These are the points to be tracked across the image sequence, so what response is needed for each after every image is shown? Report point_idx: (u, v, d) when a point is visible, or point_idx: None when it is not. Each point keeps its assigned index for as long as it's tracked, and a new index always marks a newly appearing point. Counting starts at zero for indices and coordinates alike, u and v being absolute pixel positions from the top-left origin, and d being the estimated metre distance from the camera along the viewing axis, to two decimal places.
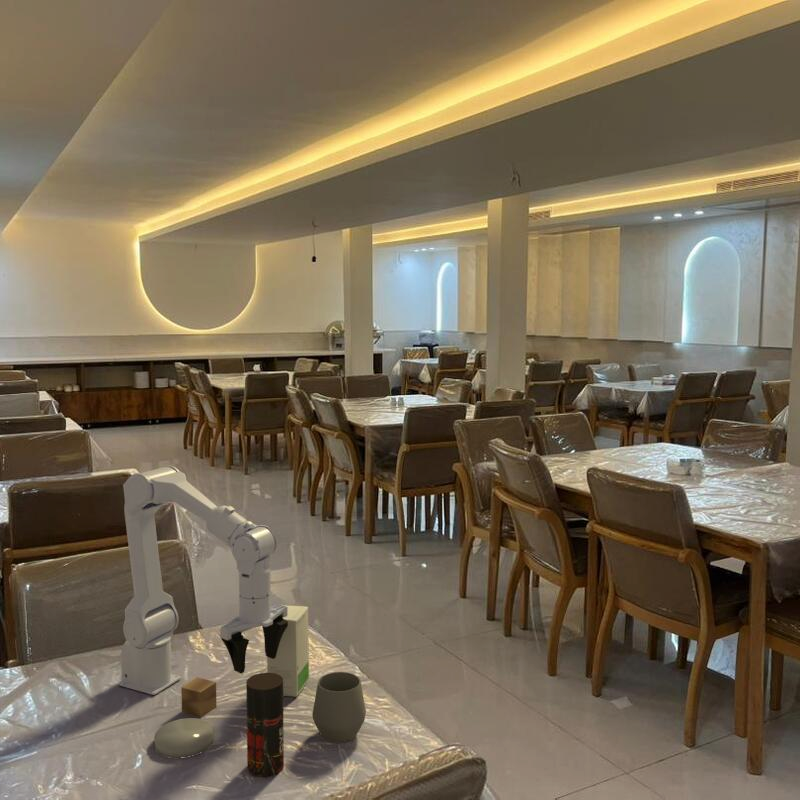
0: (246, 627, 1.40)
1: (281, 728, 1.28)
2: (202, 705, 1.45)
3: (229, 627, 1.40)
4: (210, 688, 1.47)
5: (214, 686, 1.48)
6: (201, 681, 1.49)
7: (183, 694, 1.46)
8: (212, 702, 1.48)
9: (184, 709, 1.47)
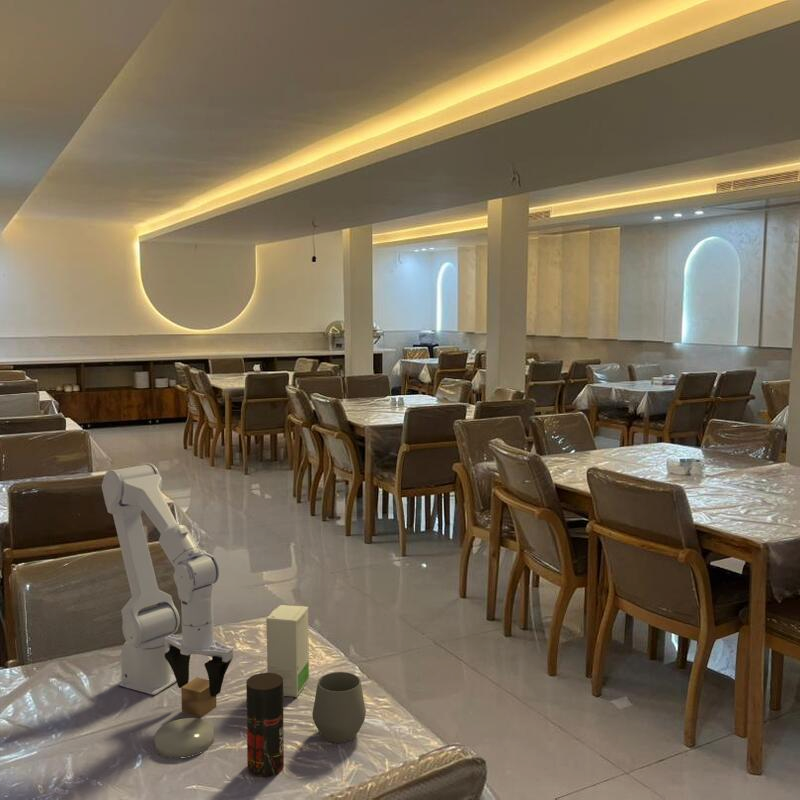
0: (175, 645, 1.46)
1: (281, 728, 1.28)
2: (202, 705, 1.45)
3: (172, 638, 1.49)
4: None
5: None
6: (201, 681, 1.49)
7: (183, 694, 1.46)
8: (212, 702, 1.48)
9: (184, 709, 1.47)
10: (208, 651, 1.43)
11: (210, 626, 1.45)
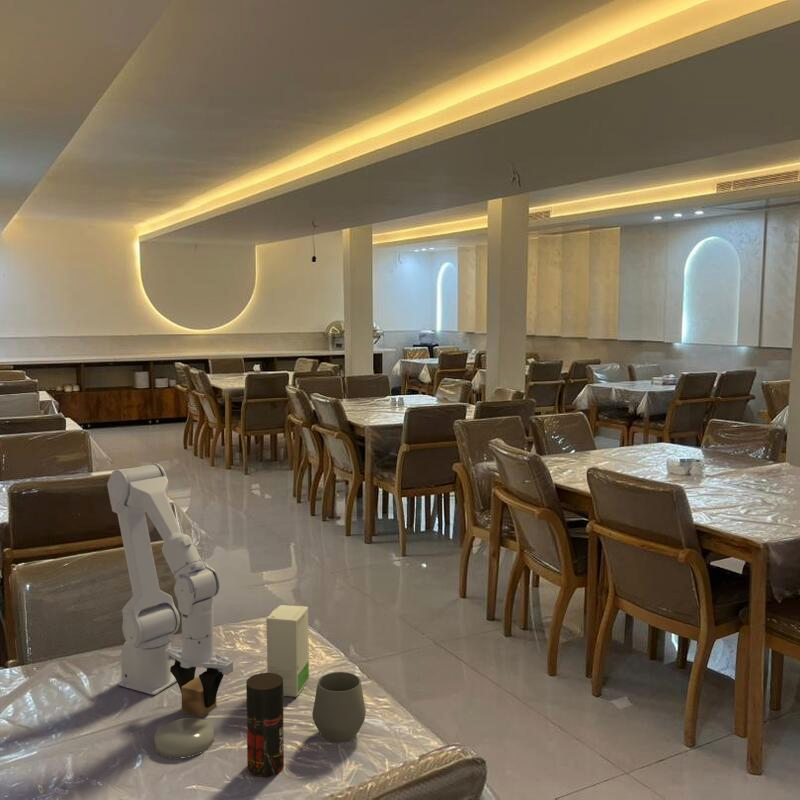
0: (176, 657, 1.47)
1: (281, 728, 1.28)
2: (202, 705, 1.45)
3: (172, 650, 1.49)
4: None
5: None
6: None
7: (183, 694, 1.46)
8: None
9: (184, 709, 1.47)
10: (208, 664, 1.44)
11: (210, 639, 1.45)
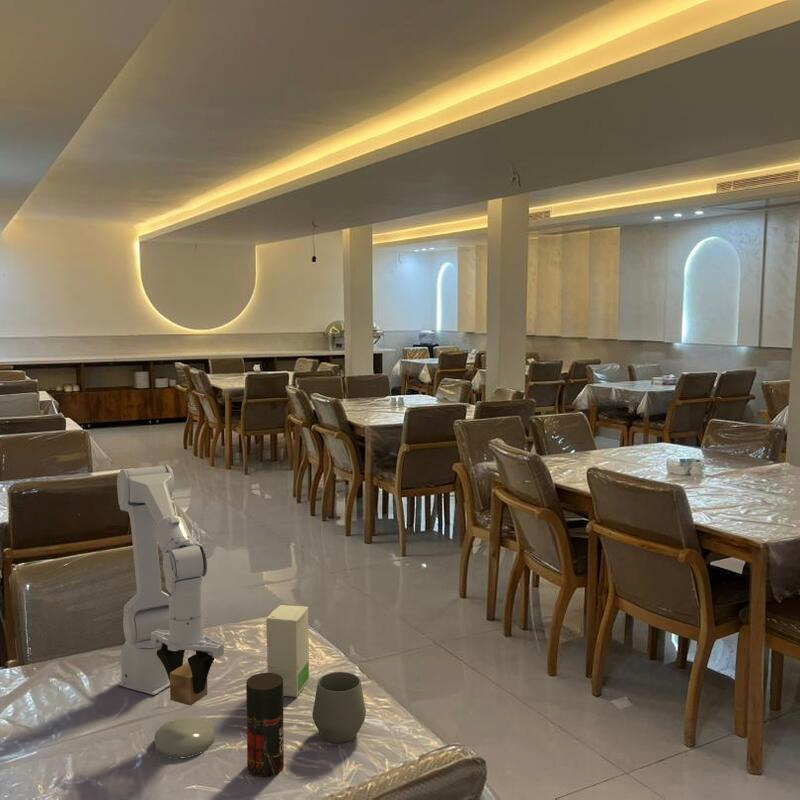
0: (162, 640, 1.37)
1: (281, 728, 1.28)
2: (192, 692, 1.36)
3: (159, 633, 1.40)
4: None
5: None
6: None
7: (172, 680, 1.37)
8: None
9: (173, 696, 1.38)
10: (197, 647, 1.34)
11: (199, 620, 1.36)
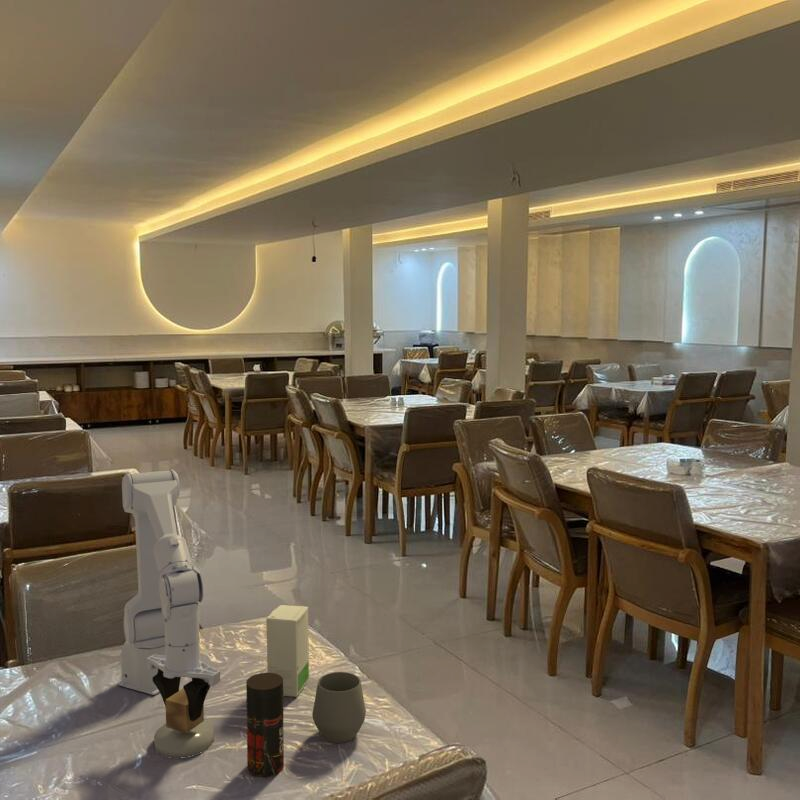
0: (158, 666, 1.35)
1: (281, 728, 1.28)
2: (188, 719, 1.34)
3: (155, 658, 1.38)
4: None
5: None
6: None
7: (167, 707, 1.35)
8: None
9: (168, 723, 1.35)
10: (193, 674, 1.32)
11: (195, 646, 1.34)
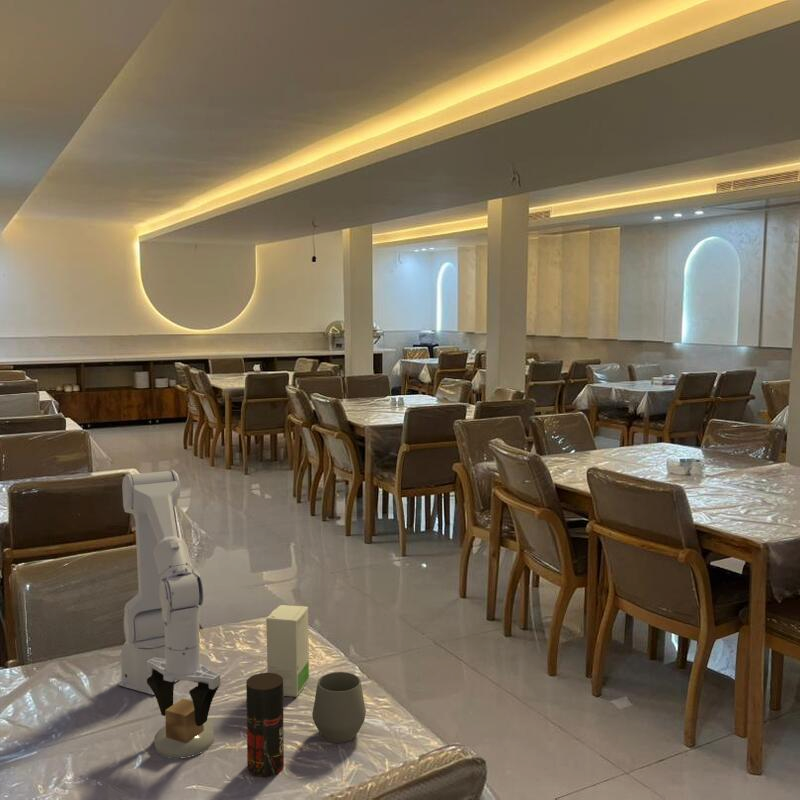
0: (158, 670, 1.35)
1: (281, 728, 1.28)
2: (188, 729, 1.34)
3: (155, 661, 1.38)
4: None
5: None
6: (187, 703, 1.38)
7: (167, 717, 1.35)
8: (199, 726, 1.37)
9: (168, 734, 1.36)
10: (193, 677, 1.32)
11: (195, 650, 1.34)
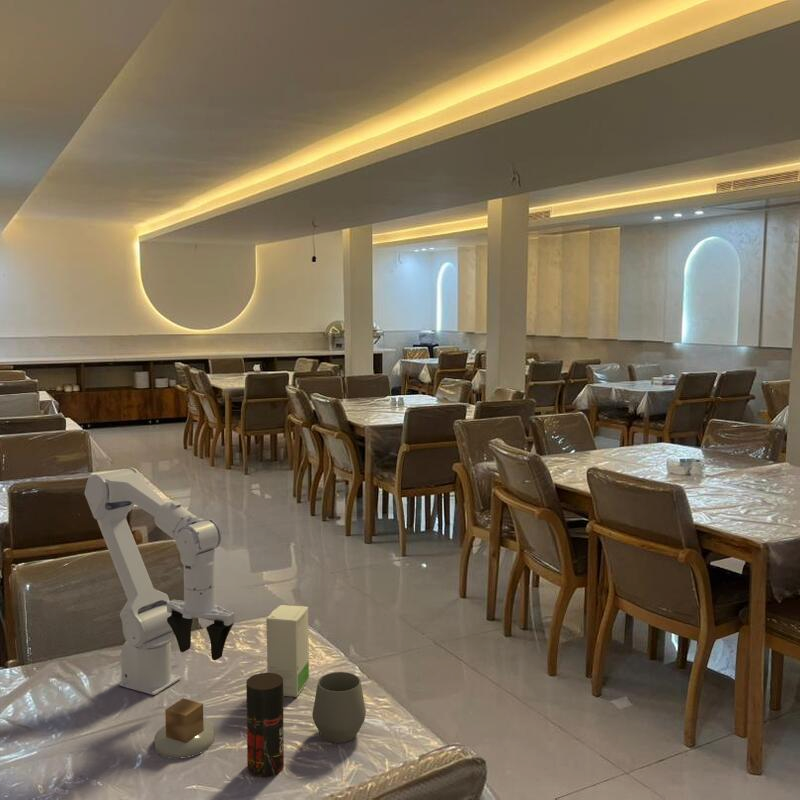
0: (178, 609, 1.48)
1: (281, 728, 1.28)
2: (188, 729, 1.34)
3: (174, 603, 1.51)
4: (197, 710, 1.36)
5: (201, 708, 1.37)
6: (187, 703, 1.38)
7: (167, 717, 1.35)
8: (199, 725, 1.37)
9: (168, 733, 1.36)
10: (210, 615, 1.45)
11: (212, 590, 1.46)
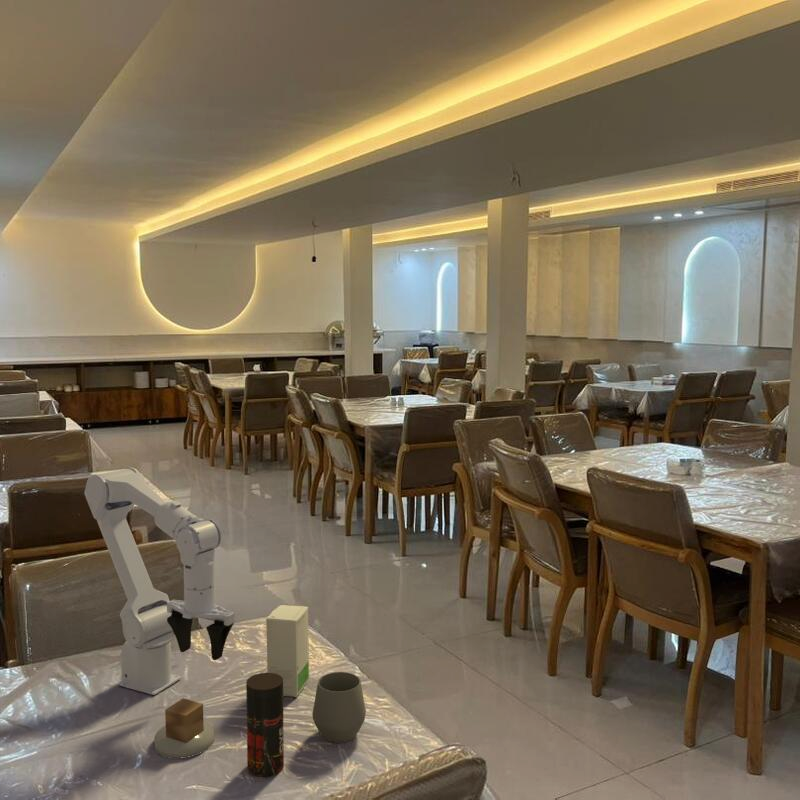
0: (178, 609, 1.48)
1: (281, 728, 1.28)
2: (188, 729, 1.34)
3: (174, 603, 1.51)
4: (196, 710, 1.36)
5: (201, 708, 1.37)
6: (187, 703, 1.38)
7: (167, 717, 1.35)
8: (199, 726, 1.37)
9: (168, 733, 1.36)
10: (210, 615, 1.45)
11: (212, 590, 1.47)
